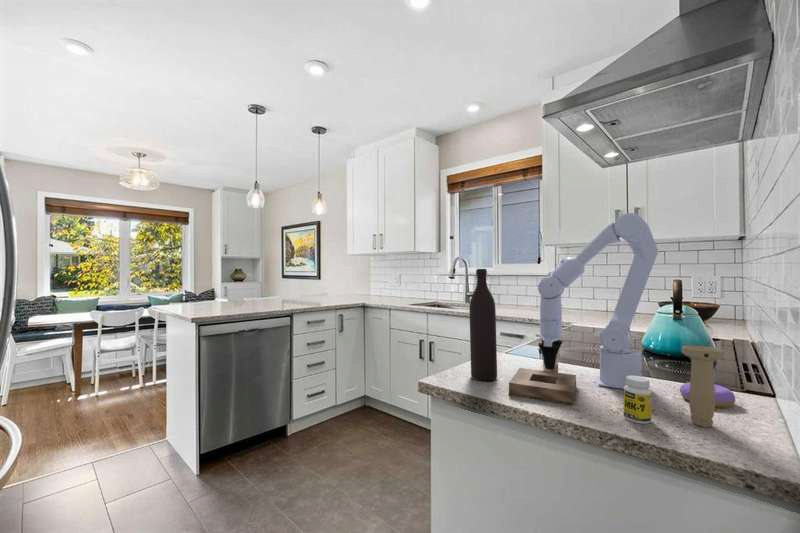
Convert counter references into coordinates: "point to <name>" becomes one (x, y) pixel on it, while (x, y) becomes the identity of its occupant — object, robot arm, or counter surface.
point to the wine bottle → (483, 331)
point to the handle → (702, 383)
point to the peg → (554, 367)
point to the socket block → (543, 386)
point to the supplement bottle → (637, 400)
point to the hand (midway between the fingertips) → (550, 366)
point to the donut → (721, 395)
